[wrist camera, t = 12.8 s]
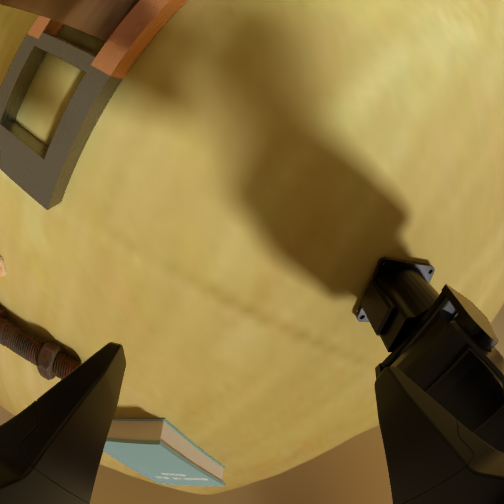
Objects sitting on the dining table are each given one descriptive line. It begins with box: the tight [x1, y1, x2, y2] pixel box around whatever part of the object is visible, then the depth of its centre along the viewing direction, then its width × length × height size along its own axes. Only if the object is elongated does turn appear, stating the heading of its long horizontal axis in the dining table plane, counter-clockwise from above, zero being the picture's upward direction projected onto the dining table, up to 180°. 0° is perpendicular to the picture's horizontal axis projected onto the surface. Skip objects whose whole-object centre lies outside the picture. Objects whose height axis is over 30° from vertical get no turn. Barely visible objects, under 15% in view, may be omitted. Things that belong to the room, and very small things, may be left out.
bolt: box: [0, 306, 82, 380], centre depth 24 cm, size 6×5×15 cm
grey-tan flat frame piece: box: [0, 0, 187, 210], centre depth 12 cm, size 22×11×2 cm, turn 142°
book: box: [103, 418, 225, 486], centre depth 36 cm, size 23×16×5 cm
